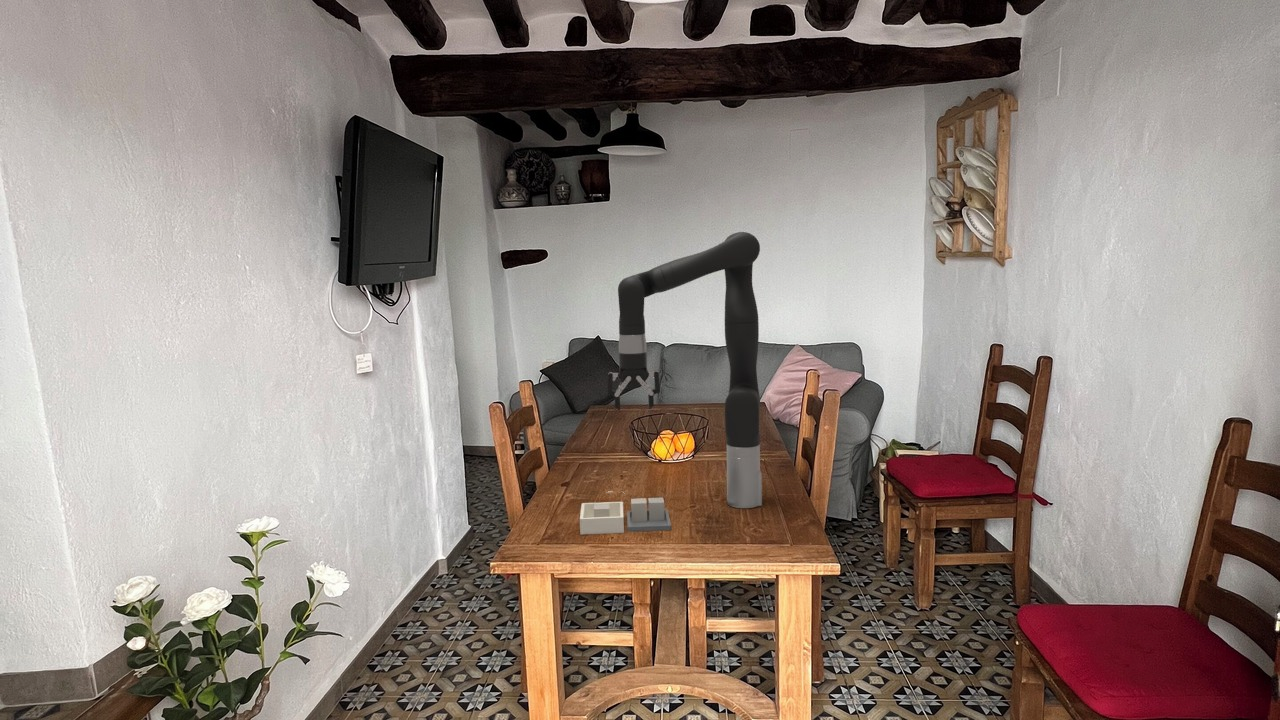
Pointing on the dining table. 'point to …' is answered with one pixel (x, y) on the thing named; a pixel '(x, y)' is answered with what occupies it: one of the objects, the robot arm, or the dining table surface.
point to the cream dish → (601, 519)
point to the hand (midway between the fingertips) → (634, 409)
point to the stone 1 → (601, 510)
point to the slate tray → (648, 523)
